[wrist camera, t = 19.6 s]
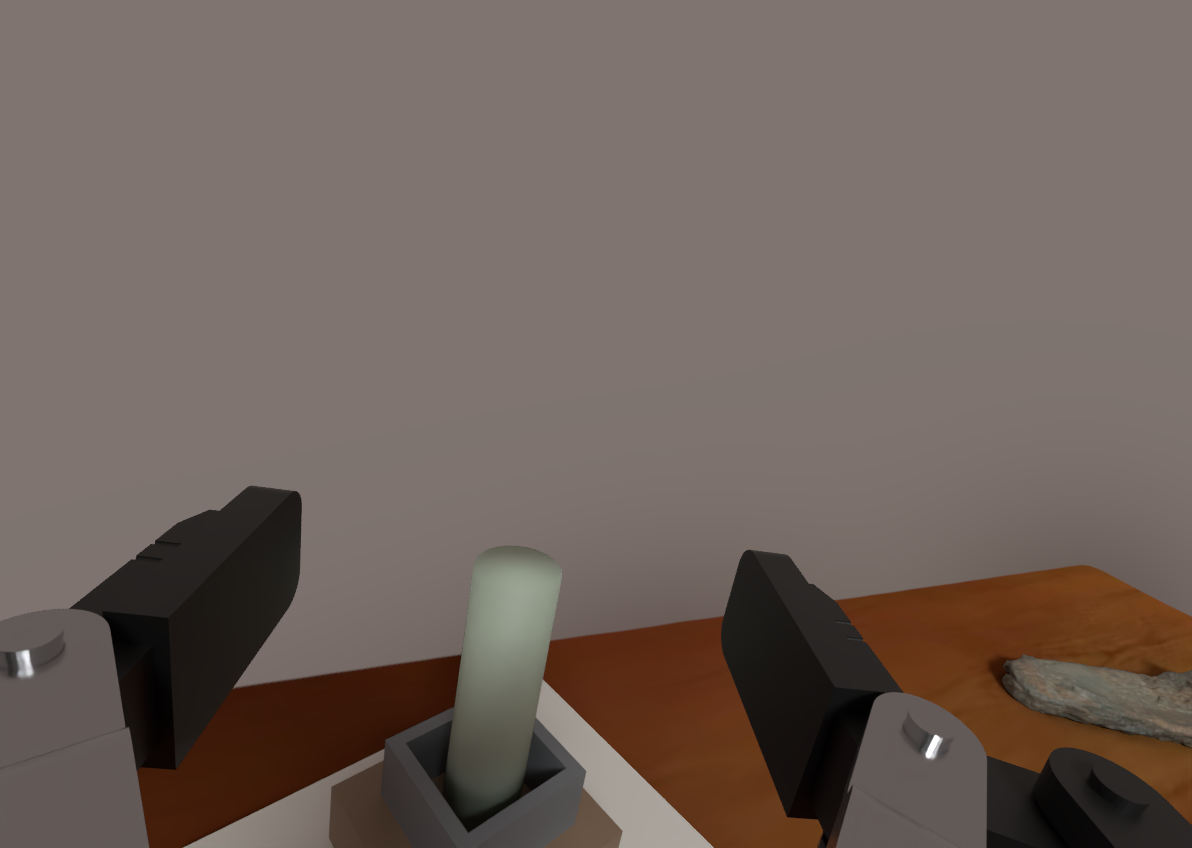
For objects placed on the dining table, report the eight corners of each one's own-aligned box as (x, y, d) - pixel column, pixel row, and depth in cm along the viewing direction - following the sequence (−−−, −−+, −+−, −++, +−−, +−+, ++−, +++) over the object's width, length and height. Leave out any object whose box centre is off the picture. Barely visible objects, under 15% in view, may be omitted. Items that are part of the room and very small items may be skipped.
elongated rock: (971, 669, 69) (1027, 743, 59) (987, 632, 67) (1047, 702, 57) (1269, 703, 69) (1371, 782, 60) (1293, 667, 67) (1402, 743, 58)
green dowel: (466, 863, 32) (508, 605, 27) (425, 800, 34) (456, 557, 30) (532, 818, 35) (579, 579, 30) (490, 764, 37) (527, 538, 33)
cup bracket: (300, 1350, 21) (308, 1199, 18) (172, 872, 34) (165, 741, 31) (724, 880, 39) (761, 767, 36) (534, 687, 52) (551, 594, 49)
